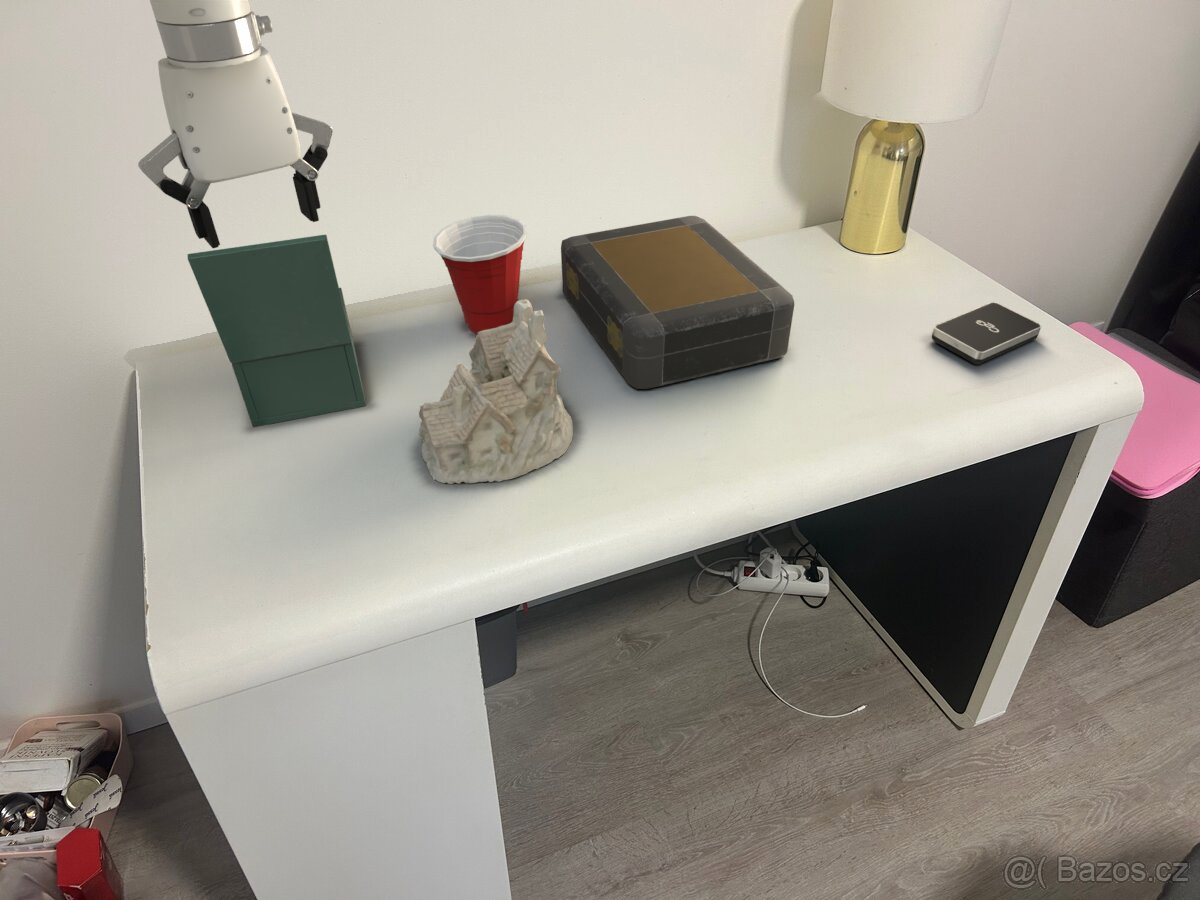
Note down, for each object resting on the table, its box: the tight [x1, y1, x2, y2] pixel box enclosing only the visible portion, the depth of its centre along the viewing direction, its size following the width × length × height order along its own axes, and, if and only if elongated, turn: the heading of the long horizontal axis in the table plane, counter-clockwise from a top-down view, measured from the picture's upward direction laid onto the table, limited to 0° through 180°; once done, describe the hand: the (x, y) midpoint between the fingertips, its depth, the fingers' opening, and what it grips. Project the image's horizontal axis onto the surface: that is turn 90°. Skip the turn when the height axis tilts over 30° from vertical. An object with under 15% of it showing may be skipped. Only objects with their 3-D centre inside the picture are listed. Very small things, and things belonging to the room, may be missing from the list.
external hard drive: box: [931, 301, 1042, 365], centre depth 99 cm, size 7×11×2 cm, turn 122°
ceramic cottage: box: [418, 298, 574, 485], centre depth 82 cm, size 16×16×15 cm
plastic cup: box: [432, 214, 528, 334], centre depth 100 cm, size 11×11×12 cm
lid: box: [187, 234, 351, 364], centre depth 79 cm, size 13×12×1 cm
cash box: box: [560, 215, 795, 390], centre depth 101 cm, size 25×20×8 cm
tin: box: [231, 287, 367, 428], centre depth 91 cm, size 13×12×8 cm
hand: (262, 229), depth 82 cm, fingers open, 9 cm apart
